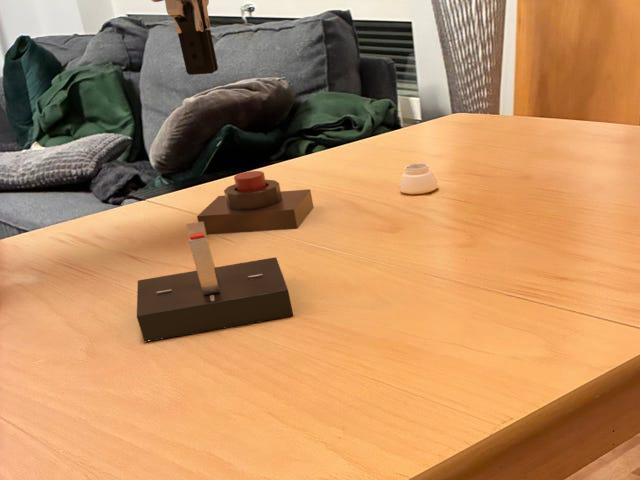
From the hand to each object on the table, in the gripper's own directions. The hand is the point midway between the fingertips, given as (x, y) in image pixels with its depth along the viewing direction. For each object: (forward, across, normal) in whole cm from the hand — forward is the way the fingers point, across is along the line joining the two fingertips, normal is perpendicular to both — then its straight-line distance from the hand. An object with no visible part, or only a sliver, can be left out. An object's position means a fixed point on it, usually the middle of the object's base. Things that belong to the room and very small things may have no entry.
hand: (202, 72), depth 109 cm
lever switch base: (+17, +30, +7) cm, 35 cm away
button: (+13, -1, +3) cm, 13 cm away
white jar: (+16, -10, +22) cm, 29 cm away
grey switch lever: (+14, +30, +7) cm, 34 cm away
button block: (+16, -1, +3) cm, 17 cm away
